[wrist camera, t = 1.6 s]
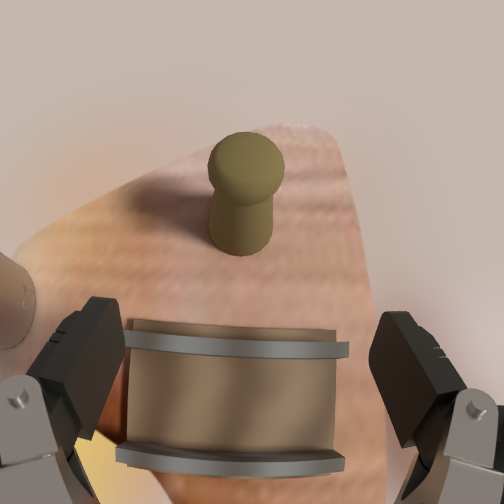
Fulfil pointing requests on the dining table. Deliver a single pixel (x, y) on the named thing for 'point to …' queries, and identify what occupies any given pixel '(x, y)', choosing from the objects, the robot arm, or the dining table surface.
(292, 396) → the walnut track
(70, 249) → the dining table surface
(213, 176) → the olive waisted cylinder
